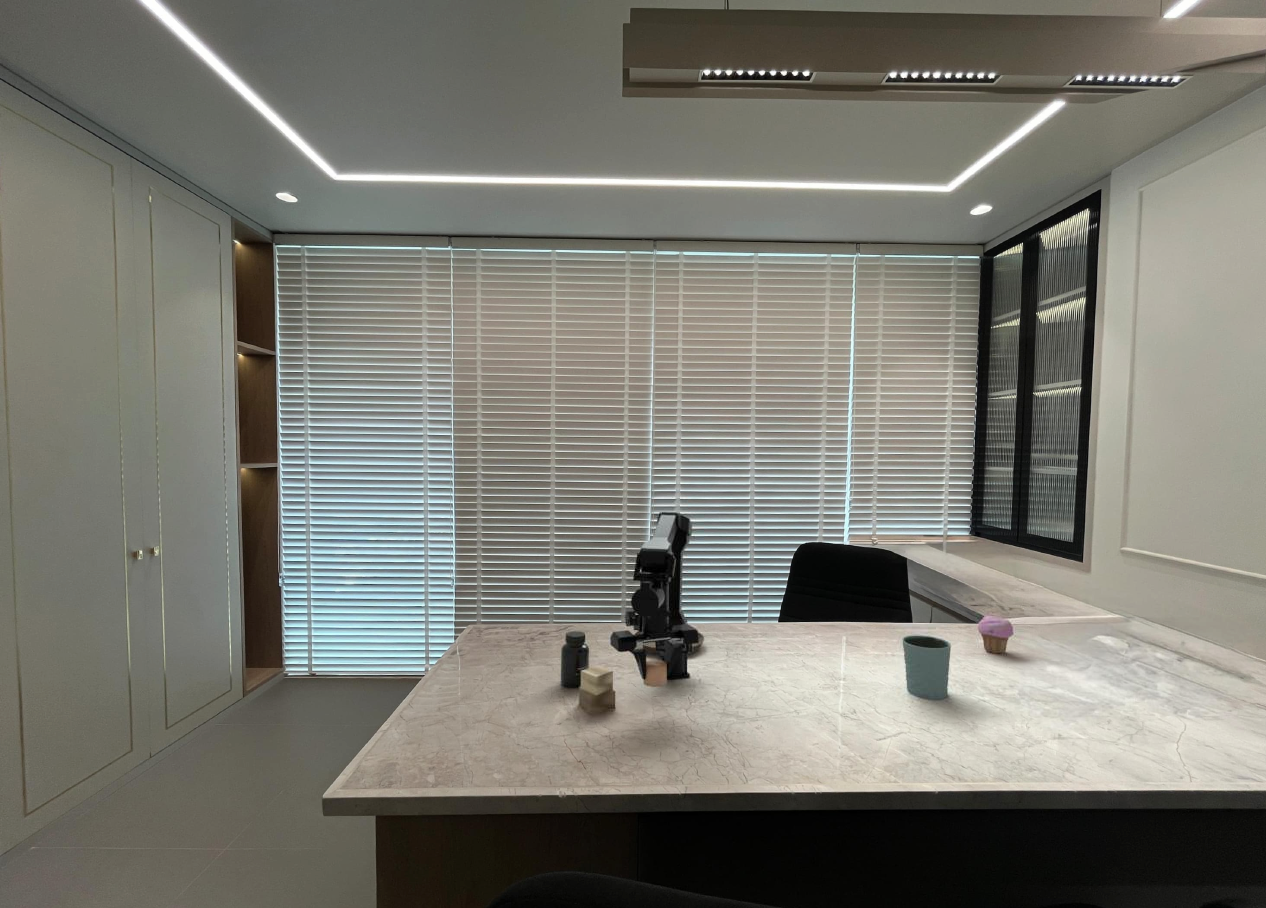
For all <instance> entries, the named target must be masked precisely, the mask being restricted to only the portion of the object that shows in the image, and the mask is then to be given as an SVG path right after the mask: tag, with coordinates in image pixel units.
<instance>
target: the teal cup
mask: <svg viewBox="0 0 1266 908" xmlns="http://www.w3.org/2000/svg"><path fill="white" fill-rule="evenodd" d="M951 646H952V645H951V643H950V642H949V641H947V640H945V639H943V638H939V637H935V636H930V635H923V634H922V635H919V634H918V635H915V634H914V635H907V636H905V637H903V638H902V648H903V652H904V654H903V657H904V659H903V660H904V664H905V665H904V667H905V673H906V674H905V679H906V691H907V692H908V693H909V694H911V695H913V696H915V697H918V698H921V699H925V700H926V699H927V700H933V701H934V700H943V699H946V698H947V697H948V692H949V691H948V690H949V688H948V686H949V674H950V673H949V671H950V659H951V658H950V657H951V648H952V647H951Z"/></svg>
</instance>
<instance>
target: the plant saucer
mask: <svg viewBox="0 0 1266 908" xmlns="http://www.w3.org/2000/svg"><path fill="white" fill-rule="evenodd" d="M698 633H699V643H694V644H693V652H689V654H688V655H690V654H693V653H694V652H695V651H697V650H698V649H699V648H700V647H701V646H702V644H703V643H704V641H705V636H704V635H703V634H702V633H700V632H699V631H698ZM637 634H642V632H639V631H637V630H636V632H635V633H633V635H637ZM685 645H686V644H685ZM643 649H645V650H646V653H649V654H651V655H656V656H660V651H656V646H655V642H649V643H643Z"/></svg>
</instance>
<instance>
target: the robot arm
mask: <svg viewBox="0 0 1266 908" xmlns="http://www.w3.org/2000/svg"><path fill="white" fill-rule="evenodd" d="M692 524H693V523H692V521H691V519H690V518H689V517H687V516H684V515H682V514H681V512H678V511H675V510H674V511H673V510H662V511H659V513H658V516H657V518H656V527H655V529H654V532H653V534H652V537H651V539H649V540H648V541H644V543H643V544H642V545H641V547H640V548H639V551H638V552H637V553H636V560H635V566H634V571H633V577H632V579H633V581H635V582H639V588H638V589H636V590H635V592H634V593H632V596H631V599H630V604H631V607H632V610H630V611H625V615H624V621H625V626H626V627H633V630H634V631H636V632H637V631H639V632H642V634H637V635H634V633H633V632H631V631H630V630H628V629H626V630H618V631H613V632H612V634H610V637H609V638H610V640H609V641H610V645H611V647H613V648H614V649H615V650H616V651H617V652H618V653H619V652H620V653H624V652H630V654H632V655H633V657H634V659H635V661H636V664H637V667H638V670H639V674H640V676H641V679H642V680H645V677H646V661H647V652H646V650H645V649H643V643H649V642H655V646H656V651H660V655H657V656H658V657H657V658H658V659H657V660H660V661H664V662H666V663H667V680H675V679H682V678H689V677H691V674H690V673H689V672H688V655H690V654H689V652H692V653H694V652H693V644H694V643H699V633H700V632H699V631H698V630H697V629H696V628H695V627H693V626H692V625H690V624H688V620H687V618H686V616H685V614H684V612H683V610H682V609H683V607H682V605H683V604H682V603H683V601H682V600H683V599H682V598H683V568H684V567H683V566H684V565H683V563H684V556H683V555H684V551H685V550H686V549H687V547H688V546H689V544H690V537H692V535H693V533H692V532H693V525H692ZM698 632H699V633H698ZM685 644H686V645H685Z"/></svg>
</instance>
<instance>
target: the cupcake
mask: <svg viewBox="0 0 1266 908" xmlns="http://www.w3.org/2000/svg"><path fill="white" fill-rule="evenodd" d="M1013 628H1014V627H1013V625H1012V622H1011V621H1010V620H1008V619H1005V618H1002V617H1000V616H997V615H996V616H995V615H985V616H983V618H982V619H981V620H980V621H979V622H978V625H977V629H978V630H977V631H978V633H980V635H981V637H982V640H983V648H984V650H985V651H986V652H988V653H992V654H1003V653H1005V652H1006V650H1007V645H1008V640H1009V638H1011V637H1012V636H1013V635H1014V629H1013Z"/></svg>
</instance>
